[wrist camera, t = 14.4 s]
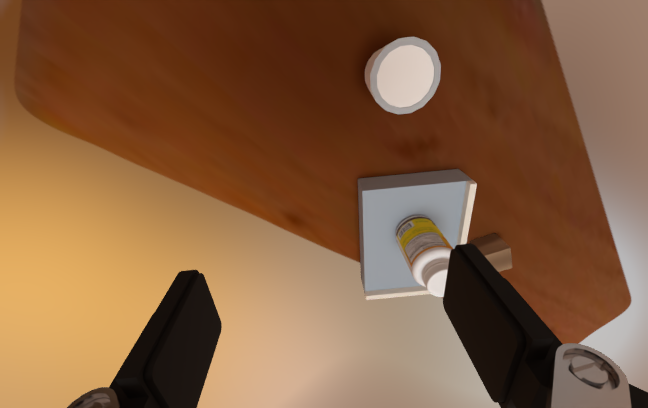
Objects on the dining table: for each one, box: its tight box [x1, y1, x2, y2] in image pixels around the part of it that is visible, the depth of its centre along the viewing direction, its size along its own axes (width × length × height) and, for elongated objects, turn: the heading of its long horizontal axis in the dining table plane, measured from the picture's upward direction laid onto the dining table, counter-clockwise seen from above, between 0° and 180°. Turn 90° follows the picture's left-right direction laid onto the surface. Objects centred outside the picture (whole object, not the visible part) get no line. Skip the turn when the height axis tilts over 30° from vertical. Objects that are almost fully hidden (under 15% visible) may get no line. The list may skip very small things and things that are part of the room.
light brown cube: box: [470, 233, 512, 272], centre depth 45 cm, size 4×4×4 cm
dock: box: [358, 169, 477, 300], centre depth 42 cm, size 18×14×5 cm
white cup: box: [365, 37, 441, 114], centre depth 31 cm, size 7×7×7 cm
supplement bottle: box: [396, 216, 453, 297], centre depth 35 cm, size 6×6×10 cm
